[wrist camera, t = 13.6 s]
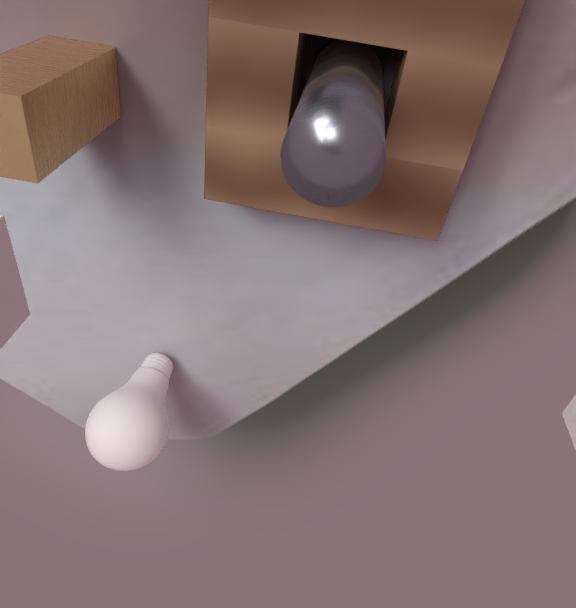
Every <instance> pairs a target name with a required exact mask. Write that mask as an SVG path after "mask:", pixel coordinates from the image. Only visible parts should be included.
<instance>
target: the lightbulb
mask: <svg viewBox="0 0 576 608" xmlns="http://www.w3.org/2000/svg"><path fill="white" fill-rule="evenodd" d="M172 369H173V363H172V361H171V360H170V359H169V358H168V357H167V356H166V355H164V354H161V353H152V354H149V355H148V356H147V357H146V358H145V360H144V362H143V363H142V365H141V366H140V368H139V369H137V370H136V371H135V372H134V374H133V375H132V377H131V378H130V380H129V381H128V382H127V383H126V384H125V385H124V386H122V387H121V388H119V389H118V390H116V391H114V392H112V393H110V394H108V395H107V396H105V397H104V398H102V399H101V400H100V401H99V402H98V403H97V404H96V405H95V406H94V407H93V409H92V411H91V413H90V414H89V416H88V419H87V422H86V429H85V437H86V443H87V446H88V448H89V451H90V453H91V454H92V456H93V457H94V458H95V459H96V460H97V461H98V462H99V463H101V464H102V465H104V466H105V467H108V468H110V469H113V470H118V471H131V470H136V469H138V468H141V467H143V466H145V465H147V464H148V463H150V462H151V461H153V460H154V459H155V458H156V457H157V456H158V455H159V453H160V452H161V451H162V449H163V448H164V446H165V443H166V441H167V438H168V432H169V422H168V415H167V411H166V407H165V399H166V393H167V390H168V387H169V378H170V375H171V373H172Z"/></svg>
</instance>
